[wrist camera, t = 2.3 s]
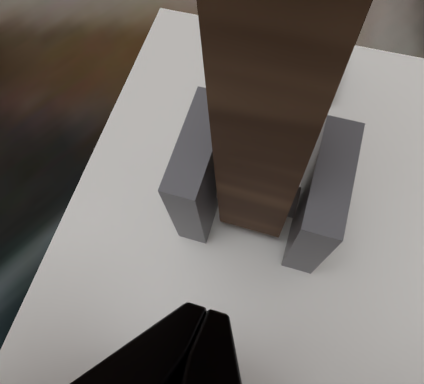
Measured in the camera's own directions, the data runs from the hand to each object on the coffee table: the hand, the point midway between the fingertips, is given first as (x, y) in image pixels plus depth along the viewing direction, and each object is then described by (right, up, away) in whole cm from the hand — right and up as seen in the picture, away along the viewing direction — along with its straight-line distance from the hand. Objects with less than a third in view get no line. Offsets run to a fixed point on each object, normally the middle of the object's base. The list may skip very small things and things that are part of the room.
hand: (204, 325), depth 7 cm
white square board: (+2, -1, +11) cm, 11 cm away
